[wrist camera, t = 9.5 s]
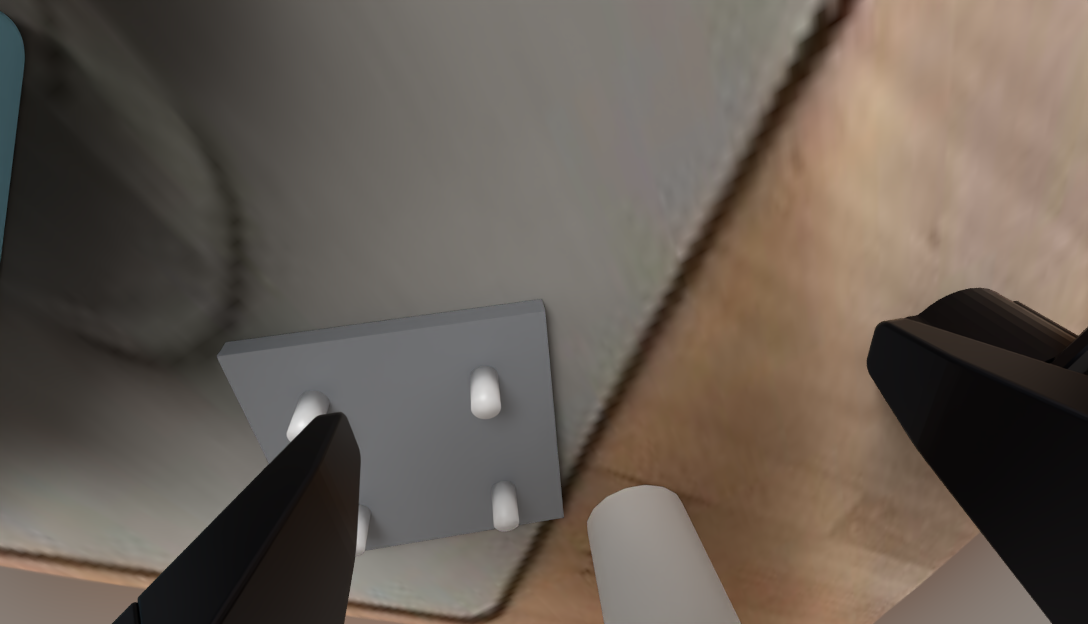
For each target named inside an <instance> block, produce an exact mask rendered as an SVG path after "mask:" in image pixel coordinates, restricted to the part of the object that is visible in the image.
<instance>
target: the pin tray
mask: <svg viewBox="0 0 1088 624" xmlns="http://www.w3.org/2000/svg"><path fill="white" fill-rule="evenodd" d="M217 359H218V361H219V363H220V365H221V367H222V369H223V371H224V373H225V375H226V377H227V379H228V381H229V383H230V385H231V387H232V389H233V391H234V393H235V395H236V397H237V399H238V401H239V403H240V405H241V408H242V410H243V412H244V414H245V416H246V418H247V420H248V422H249V424H250V426H251V428H252V430H253V432H254V434H255V436H256V438H257V440H258V442H259V444H260V446H261V448H262V450H263V452H264V455H265V457H266V459H267V461H268V463H270V462H271V461H272V460H273V459H274V458H275V457H276V456H277V455H278V454H279V453H280V452H281V451H282V450H283V449H284V448H285V447H286V446H287V445H288V444H289V443H290V442H291V441H292V440H293V439H294V438H295V437H296V436H297V435H298V434H299V433H300V432H301V431H302V430H303V429H304V428H305V427H306V426H307V425H308V424H309V423H310V422H311V421H312V420H313V419H314V418H315V417H316V416H318V415H322V414H328V413H334V412H342V413H344V414H345V415H346V416H347V418H348V421H349V423H350V426H351V428H352V431H353V433H354V436H355V439H356V441H357V444H358V446H359V450H360V455H361V471H360V491H359V511H358V531H357V546H356V554H355V557H356V556H359V555H361V554H362V553H363V552H364V551H366V550H372V549H378V548H384V547H390V546H396V545H402V544H408V543H414V542H420V541H426V540H432V539H438V538H444V537H450V536H456V535H462V534H468V533H474V532H480V531H486V530H492V529H497V530H499V531H511V530H513V529H515V528H516V527H517V526H518V525H522V524H528V523H534V522H540V521H546V520H552V519H558V518H564V515H563V504H562V492H561V481H560V470H559V459H558V448H557V437H556V426H555V415H554V404H553V392H552V381H551V370H550V359H549V348H548V337H547V326H546V315H545V309H544V305H543V301H542V299H539V300H532V301H524V302H517V303H510V304H502V305H495V306H488V307H480V308H473V309H466V310H458V311H451V312H444V313H436V314H429V315H422V316H414V317H407V318H400V319H392V320H385V321H378V322H370V323H363V324H356V325H348V326H341V327H334V328H326V329H319V330H312V331H304V332H297V333H289V334H282V335H275V336H267V337H260V338H253V339H245V340H238V341H231V342H226V343H225V344H224V346H223V347H222V349H221V350H220V352H219V354H218V355H217Z"/></svg>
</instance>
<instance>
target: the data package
mask: <svg viewBox="0 0 1088 624" xmlns="http://www.w3.org/2000/svg"><path fill="white" fill-rule="evenodd" d="M24 63H25V51H24V44H23V40H22V37H21V34H20V32H19V30H18V28H17V27H16V25H15V24H14V22H13V21H12V20H11V19H10V18H9V17H8V16H7V15H5V14H4V13H2V12H1V11H0V261H1V253H2V245H3V236H4V228H5V220H6V212H7V203H8V195H9V187H10V179H11V171H12V162H13V154H14V146H15V138H16V129H17V121H18V113H19V105H20V97H21V88H22V80H23V72H24Z"/></svg>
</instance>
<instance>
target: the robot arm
mask: <svg viewBox="0 0 1088 624" xmlns="http://www.w3.org/2000/svg"><path fill="white" fill-rule="evenodd" d="M867 369H868V372H869V374H870V376H871V378H872V379H873V381H874V382H875V384H876V386H877V387H878V389H879V390H880V392H881V394H882V395H883V397H884V398H885V400H886V402H887V403H888V405H889V406H890V408H891V409H892V411H893V413H894V414H895V416H896V417H897V419H898V421H899V422H900V424H901V425H902V427H903V429H904V430H905V432H906V433H907V435H908V437H909V438H910V440H911V441H912V443H913V444H914V446H915V447H916V449H917V450H918V451H919V453H920V454H921V455H922V457H923V458H924V459H925V461H926V462H927V463H928V465H929V466H930V467H931V468H932V470H933V471H934V472H935V474H936V475H937V476H938V477H939V479H940V480H941V481H942V483H943V484H944V485H945V486H946V488H947V489H948V490H949V492H950V493H951V494H952V496H953V497H954V498H955V499H956V501H957V502H958V503H959V505H960V506H961V507H962V508H963V510H964V511H965V512H966V514H967V515H968V516H969V517H970V519H971V520H972V521H973V523H974V524H975V525H976V526H977V528H978V529H979V530H980V532H981V533H982V534H983V535H984V537H985V538H986V539H987V541H988V542H989V543H990V544H991V546H992V547H993V548H994V549H995V551H996V552H997V553H998V555H999V556H1000V557H1001V559H1002V560H1003V561H1004V563H1005V564H1006V565H1007V566H1008V567H1009V569H1010V570H1011V571H1012V573H1013V574H1014V575H1015V577H1016V578H1017V579H1018V580H1019V582H1020V583H1021V584H1022V586H1023V587H1024V588H1025V589H1026V591H1027V592H1028V593H1029V595H1030V596H1031V597H1032V598H1033V600H1034V601H1035V602H1036V604H1037V605H1038V606H1039V607H1040V609H1041V610H1042V611H1043V613H1044V614H1045V615H1046V617H1047V618H1048V619H1049V620H1050V622H1051V623H1052V624H1088V327H1087V328H1086V329H1085V330H1084V331H1083V332H1082V333H1081V334H1080V335H1079V336H1078V335H1076V334H1074V333H1072V332H1071V331H1069V330H1067V329H1065V328H1064V327H1062V326H1060V325H1058V324H1057V323H1055V322H1053V321H1052V320H1050V319H1048V318H1046V317H1045V316H1043V315H1041V314H1039V313H1038V312H1036V311H1034V310H1032V309H1031V308H1029V307H1027V306H1025V305H1024V304H1022V303H1020V302H1018V301H1013V302H1012V301H1011V300H1009V299H1007V298H1006V297H1004V296H1002V295H1000V294H999V293H997V292H995V291H992V290H990V289H985V288H970V289H965V290H961V291H958V292H955V293H952V294H950V295H948V296H946V297H944V298H942V299H940V300H938V301H936V302H935V303H933V304H932V305H930V306H929V307H928V308H926V309H925V310H924V311H923V312H922V313H920V314H919V315H916V316H910V317H906V318H900V319H894V320H888V321H883V322H881V323H879V324H878V325H877V326H876V328H875V331H874V334H873V338H872V342H871V346H870V350H869V353H868V357H867ZM360 471H361V455H360V450H359V446H358V444H357V441H356V439H355V436H354V433H353V431H352V428H351V426H350V423H349V421H348V418H347V416H346V415H345V414H344V413H342V412H334V413H328V414H322V415H318V416H316V417H315V418H314V419H313V420H312V421H311V422H310V423H309V424H308V425H307V426H306V427H305V428H304V429H303V430H302V431H301V432H300V433H299V434H298V435H297V436H296V437H295V438H294V439H293V440H292V441H291V442H290V443H289V444H288V445H287V446H286V447H285V448H284V449H283V450H282V451H281V452H280V453H279V454H278V455H277V456H276V457H275V458H274V459H273V460H272V461H271V462H270V463H269V465H268V466H267V467H266V468H265V469H264V470H263V471H262V472H261V473H260V474H259V475H258V476H257V477H256V478H255V479H254V480H253V481H252V482H251V483H250V484H249V485H248V486H247V487H246V488H245V489H244V490H243V491H242V492H241V493H240V494H239V495H238V496H237V497H236V498H235V499H234V500H233V501H232V502H231V503H230V504H229V505H228V506H227V507H226V508H225V509H224V510H223V511H222V512H221V513H220V514H219V515H218V516H217V517H216V518H215V519H214V520H213V522H212V523H211V524H210V525H209V526H208V527H207V528H206V529H205V530H204V531H203V532H202V533H201V534H200V535H199V536H198V537H197V538H196V539H195V540H194V541H193V542H192V543H191V544H190V545H189V546H188V547H187V548H186V549H185V550H184V551H183V552H182V553H181V554H180V555H179V556H178V557H177V558H176V559H175V560H174V561H173V562H172V563H171V564H170V565H169V566H168V567H167V568H166V569H165V570H164V571H163V572H162V573H161V574H160V575H159V576H158V578H157V579H156V580H155V581H154V582H153V583H152V584H151V585H150V586H149V587H148V588H147V589H146V590H145V591H144V592H143V593H142V594H141V595H140V596H139V597H138V603H136V602H134V603H132V604H131V605H130V606H129V607H128V608H127V609H126V610H125V611H124V612H123V613H122V614H121V615H120V616H119V617H118V618H117V619H116V620H115V621H114V622H113V623H112V624H344V621H345V615H346V609H347V603H348V598H349V592H350V586H351V580H352V574H353V568H354V562H355V554H356V546H357V531H358V511H359V491H360Z"/></svg>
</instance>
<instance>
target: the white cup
mask: <svg viewBox="0 0 1088 624" xmlns="http://www.w3.org/2000/svg"><path fill="white" fill-rule="evenodd" d="M587 529H588V537H589V542H590V548H591V553H592V559H593V564H594V570H595V575H596V581H597V586H598V592H599V597H600V603H601V608H602V614H603V619H604V624H741V622H740V620H739V618H738V616H737V614H736V612H735V610H734V608H733V606H732V604H731V602H730V600H729V598H728V596H727V594H726V592H725V589H724V587H723V585H722V583H721V581H720V579H719V577H718V575H717V573H716V571H715V569H714V567H713V565H712V563H711V561H710V559H709V557H708V555H707V553H706V551H705V549H704V547H703V544H702V542H701V540H700V538H699V536H698V534H697V532H696V530H695V528H694V526H693V524H692V522H691V520H690V518H689V516H688V514H687V512H686V510H685V508H684V505H683V504H682V502H681V500H680V499H679V497H678V495H677V494H676V493H674V492H672V491H670V490H668V489H666V488H665V487H660V486H651V485H641V486H635V487H629V488H625V489H623V490H620V491H618V492H616V493H614V494H612V495H610V496H607V497H606V498H605V499H604V500H603V501H602V502H600V503H599V504H598V505H597V506H596V507H595V508H594V509H593V511H592V513H591V515H590V517H589V519H588V521H587Z"/></svg>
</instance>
